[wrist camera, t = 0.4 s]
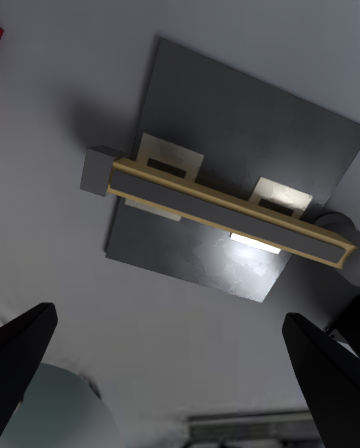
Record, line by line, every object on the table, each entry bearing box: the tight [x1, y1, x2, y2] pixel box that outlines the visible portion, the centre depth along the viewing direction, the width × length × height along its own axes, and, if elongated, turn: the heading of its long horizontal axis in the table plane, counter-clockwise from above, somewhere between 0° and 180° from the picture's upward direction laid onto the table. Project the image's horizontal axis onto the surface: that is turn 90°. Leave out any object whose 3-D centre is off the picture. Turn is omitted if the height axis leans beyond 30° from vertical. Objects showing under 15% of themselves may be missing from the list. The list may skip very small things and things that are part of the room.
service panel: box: [105, 38, 360, 303], centre depth 19 cm, size 22×18×1 cm
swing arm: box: [80, 145, 360, 287], centre depth 17 cm, size 23×4×4 cm, turn 70°
